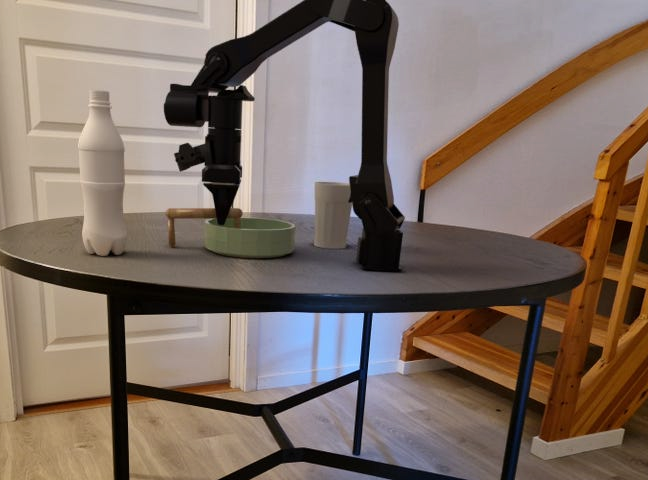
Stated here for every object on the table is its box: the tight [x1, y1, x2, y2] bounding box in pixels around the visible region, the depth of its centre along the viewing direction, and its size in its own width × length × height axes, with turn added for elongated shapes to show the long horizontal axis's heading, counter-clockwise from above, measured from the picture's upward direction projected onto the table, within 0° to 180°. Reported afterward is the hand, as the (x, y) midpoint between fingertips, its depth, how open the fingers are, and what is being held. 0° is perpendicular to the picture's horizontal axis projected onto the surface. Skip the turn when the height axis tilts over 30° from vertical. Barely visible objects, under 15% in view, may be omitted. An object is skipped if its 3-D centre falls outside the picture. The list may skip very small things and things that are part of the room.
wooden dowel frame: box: [165, 207, 244, 248], centre depth 111 cm, size 18×5×7 cm, turn 91°
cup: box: [313, 181, 353, 250], centre depth 120 cm, size 8×8×12 cm
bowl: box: [203, 216, 296, 259], centre depth 112 cm, size 16×16×5 cm
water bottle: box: [77, 89, 128, 257], centre depth 99 cm, size 7×7×25 cm
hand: (222, 221), depth 111 cm, fingers open, 9 cm apart
